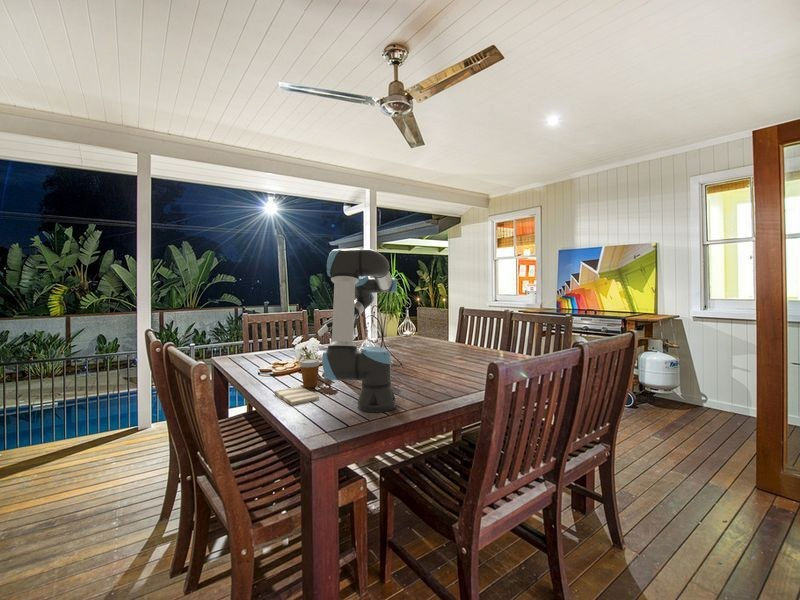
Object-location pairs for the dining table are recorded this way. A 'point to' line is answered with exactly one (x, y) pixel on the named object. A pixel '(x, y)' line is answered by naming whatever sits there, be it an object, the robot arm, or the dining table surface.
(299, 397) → the serving board
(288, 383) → the dining table surface
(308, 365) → the disposable coffee cup
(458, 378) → the dining table surface
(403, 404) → the dining table surface
